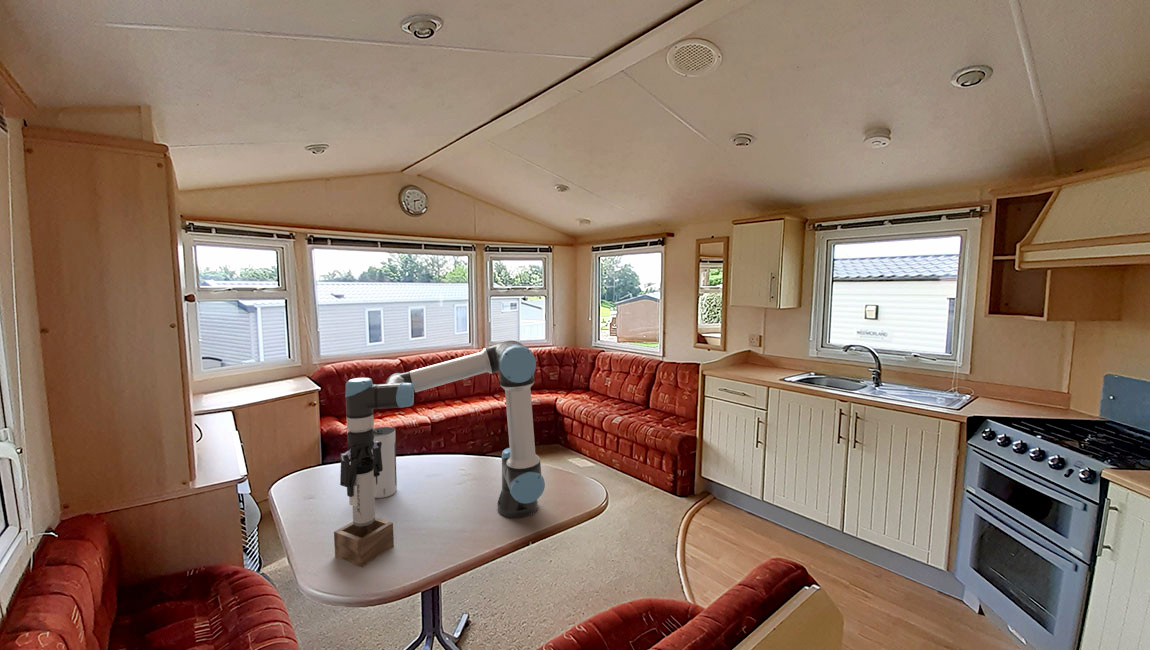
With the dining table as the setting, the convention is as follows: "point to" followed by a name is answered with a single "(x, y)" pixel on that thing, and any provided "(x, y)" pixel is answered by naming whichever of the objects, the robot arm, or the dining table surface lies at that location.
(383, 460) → the speaker
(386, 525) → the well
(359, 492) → the travel mug
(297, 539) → the dining table surface
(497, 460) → the dining table surface
